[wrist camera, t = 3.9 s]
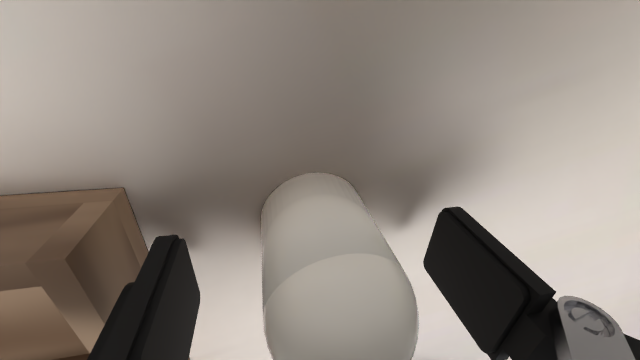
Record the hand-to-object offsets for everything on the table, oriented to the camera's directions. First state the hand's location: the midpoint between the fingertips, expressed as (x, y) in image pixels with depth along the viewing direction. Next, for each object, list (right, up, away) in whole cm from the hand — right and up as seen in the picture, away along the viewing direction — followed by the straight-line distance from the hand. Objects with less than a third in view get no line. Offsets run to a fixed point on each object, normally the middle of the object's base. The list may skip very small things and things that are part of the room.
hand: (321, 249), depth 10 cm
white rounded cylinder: (0, +1, +2) cm, 2 cm away
